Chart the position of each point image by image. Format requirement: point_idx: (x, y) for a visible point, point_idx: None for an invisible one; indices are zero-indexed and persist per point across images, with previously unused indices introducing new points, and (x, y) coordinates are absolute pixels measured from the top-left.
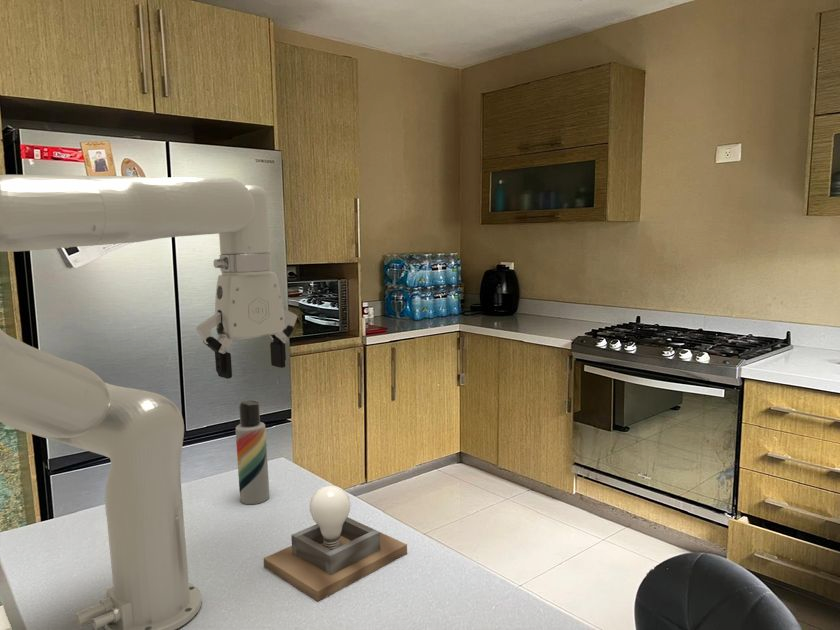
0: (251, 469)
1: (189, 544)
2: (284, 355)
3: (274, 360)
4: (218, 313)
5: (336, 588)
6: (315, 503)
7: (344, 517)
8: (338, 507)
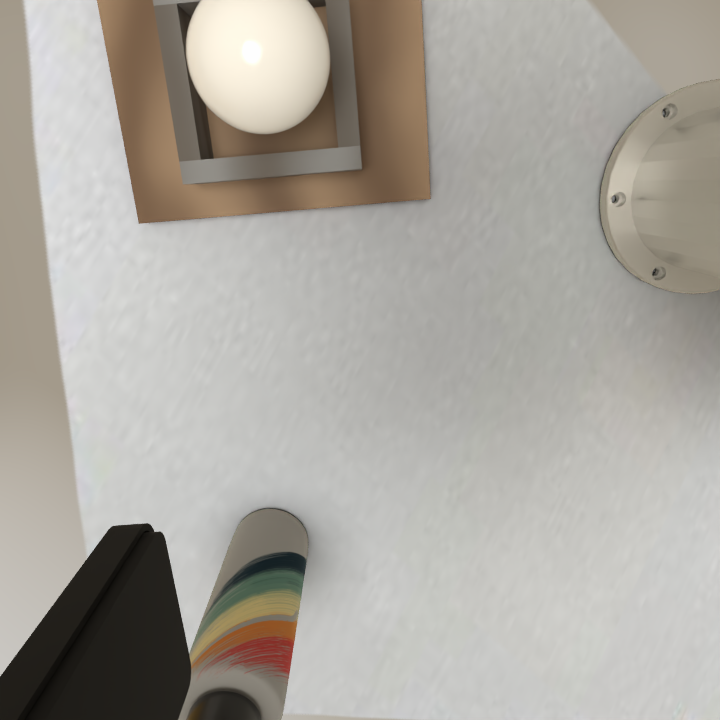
0: (276, 573)
1: (501, 427)
2: (56, 606)
3: (163, 673)
4: None
5: None
6: (319, 42)
7: None
8: None
